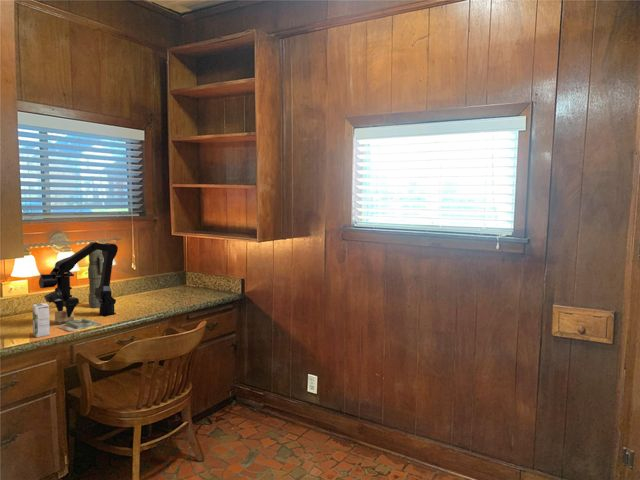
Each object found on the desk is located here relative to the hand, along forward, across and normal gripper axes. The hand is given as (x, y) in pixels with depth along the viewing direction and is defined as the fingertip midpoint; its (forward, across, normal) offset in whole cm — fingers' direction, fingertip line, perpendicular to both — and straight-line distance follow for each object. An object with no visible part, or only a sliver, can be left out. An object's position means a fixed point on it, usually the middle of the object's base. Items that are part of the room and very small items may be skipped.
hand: (64, 315), depth 220 cm
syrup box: (+4, +13, -16) cm, 21 cm away
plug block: (+4, 0, 0) cm, 4 cm away
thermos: (+4, -21, +28) cm, 35 cm away
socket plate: (+4, +12, +2) cm, 13 cm away
